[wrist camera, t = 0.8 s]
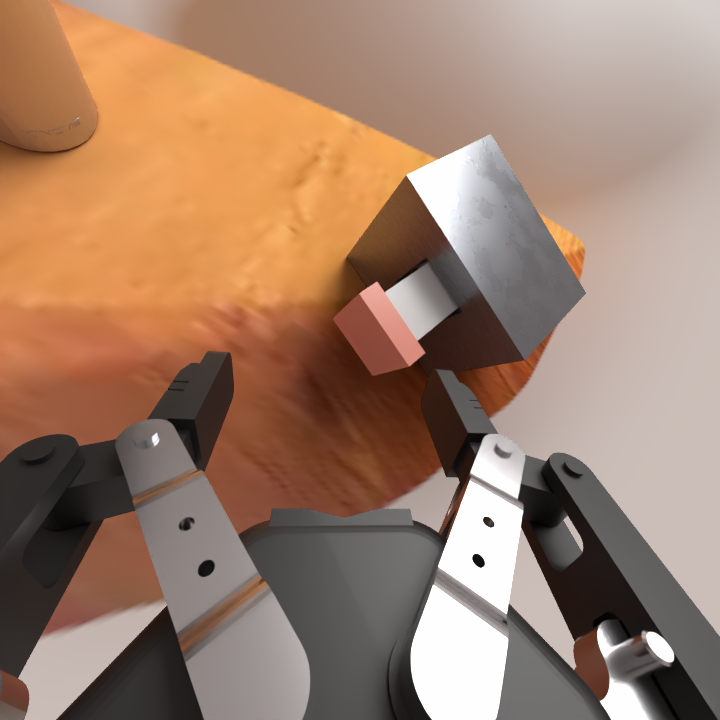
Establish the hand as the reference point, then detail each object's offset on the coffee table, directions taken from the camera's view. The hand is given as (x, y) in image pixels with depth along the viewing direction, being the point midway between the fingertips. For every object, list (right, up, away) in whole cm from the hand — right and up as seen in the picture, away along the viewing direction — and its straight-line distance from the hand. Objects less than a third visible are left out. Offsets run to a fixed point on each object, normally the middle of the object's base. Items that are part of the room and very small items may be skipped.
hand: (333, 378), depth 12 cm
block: (+9, +9, +28) cm, 31 cm away
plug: (+6, +6, +21) cm, 22 cm away
